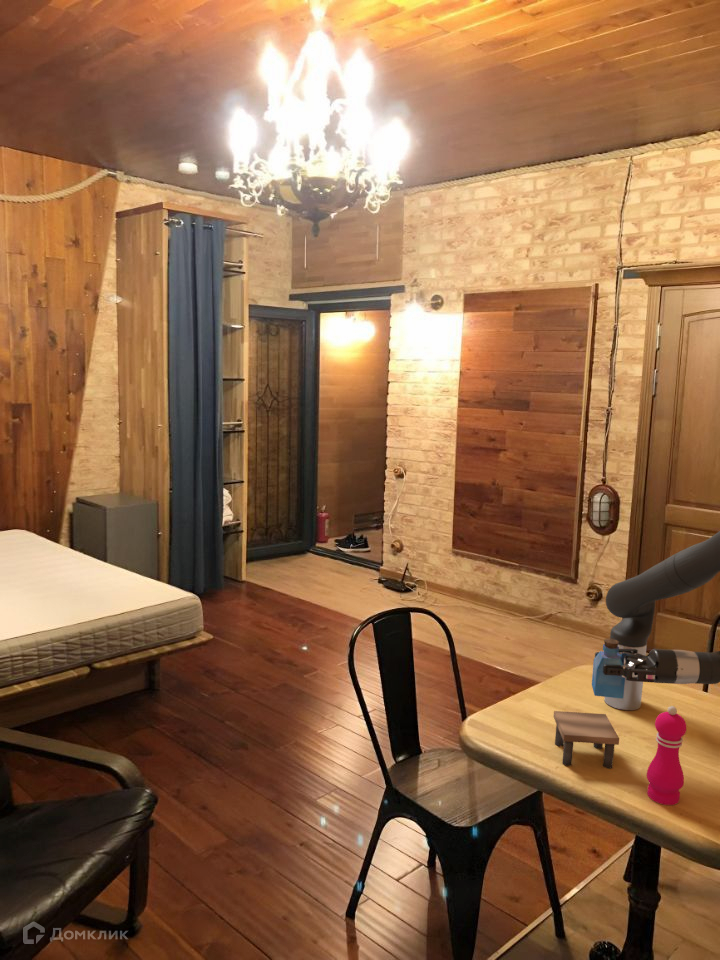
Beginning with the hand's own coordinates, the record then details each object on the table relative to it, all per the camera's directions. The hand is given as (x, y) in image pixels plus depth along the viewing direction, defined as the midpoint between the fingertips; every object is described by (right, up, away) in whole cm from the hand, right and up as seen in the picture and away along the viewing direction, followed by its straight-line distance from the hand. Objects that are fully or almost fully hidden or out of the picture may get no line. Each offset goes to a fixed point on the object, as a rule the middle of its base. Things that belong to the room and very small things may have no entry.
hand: (599, 663), depth 178 cm
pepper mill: (+9, -25, -14) cm, 30 cm away
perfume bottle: (+2, -7, +1) cm, 7 cm away
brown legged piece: (-3, -21, +2) cm, 22 cm away
